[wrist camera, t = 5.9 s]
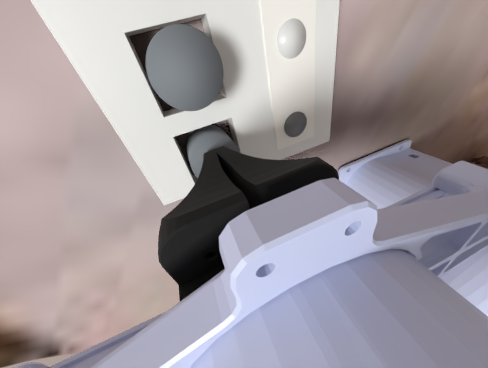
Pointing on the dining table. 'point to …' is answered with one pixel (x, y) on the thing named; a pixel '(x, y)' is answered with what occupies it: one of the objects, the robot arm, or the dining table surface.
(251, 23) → the button board
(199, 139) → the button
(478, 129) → the dining table surface
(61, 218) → the dining table surface
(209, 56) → the middle button
